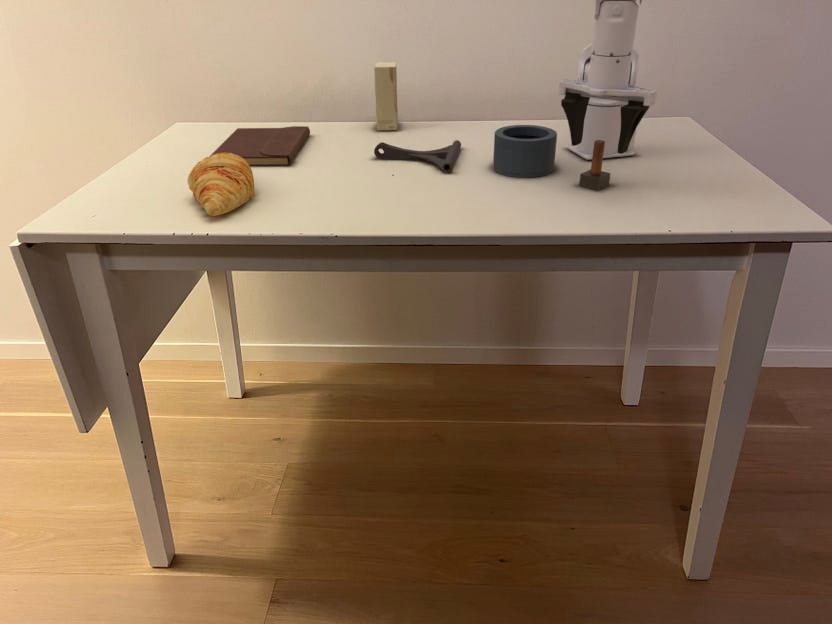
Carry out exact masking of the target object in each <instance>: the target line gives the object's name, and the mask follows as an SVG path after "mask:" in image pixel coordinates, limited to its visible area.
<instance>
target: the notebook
mask: <svg viewBox="0 0 832 624" xmlns="http://www.w3.org/2000/svg"><path fill="white" fill-rule="evenodd" d="M310 134H311V129H310V127H309V126H308V125H307V126H304V125H303V126H302V125H301V126H299V125H297V126H296V125H295V126H294V125H293V126H285V127H238V128H236V129H235V130H234V131H233V132H232V133H231V134H230V135H229V136H228V137H227V138H226V139H225V140H224V141H223V142H222V143H221V144H220V145H218V147H217V148H216V149H215V150H214V151H213V152H212V153H211V154H210V155H209V156H208V157H210V156H211V155H214V154H217V153H221V152H231V153H232V154H235V155H238V156H240V157H242V158H243V159H245V160H246V161H247V162H248V164H249V166H250V167H290V166H291V165H292V163H293V162H294V160H295V158H296V157H297V155H298V153H299V152H300V151H301V149H302V148H303V146H304V145H305V143H306V142H307V140H308V138H309V137H310Z"/></svg>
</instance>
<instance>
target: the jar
mask: <svg viewBox="0 0 832 624" xmlns="http://www.w3.org/2000/svg"><path fill="white" fill-rule="evenodd" d="M493 139H494V141H493V156H492V157H493V158H492V159H493V161H492V165H493V166H492V168H493V170H494V171H495V173H497V174H500V175H503V176H507V177H511V178H539V177H542V176H546V175H549V174H551V173H552V172H553V171H554V167H555V161H556V160H555V159H556V152H557V151H556V150H557V141H558V132H557V131H556V130H555V129H553V128H550V127H546V126H542V125H535V124H513V125H507V126H502V127H499V128H497V129H496V130H495V131H494V138H493Z"/></svg>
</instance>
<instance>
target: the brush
mask: <svg viewBox="0 0 832 624" xmlns="http://www.w3.org/2000/svg"><path fill="white" fill-rule="evenodd" d="M604 146H605V141H603V140H596V141H594V149H593V157H592V160H591V165H590V169H589V170H586V171H584V172H581V173H580V175H579V182H578V186H579V187H582V188H586V189H589V190H594V191H597V192H598V191H599V190H602V189H604V188H606V187H608V186H610V181H611V174H612V173H611V172H608V171H604V170H602V168H603V161H604V158H603V154H604Z"/></svg>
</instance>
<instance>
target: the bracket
mask: <svg viewBox="0 0 832 624" xmlns="http://www.w3.org/2000/svg"><path fill="white" fill-rule="evenodd" d="M461 142H462V141H460V140H459V139H458V140H457V139H456V140H454V141H453V142H452V144H449V145H448V146H445V147H442V148H436V149H432V150H415V149H409V148H408V149H407V148H403V147H398V146H396V145H392V144H388V143H386V142H382V141H381V142H379V143H378V144H376V146H375V147H374V150H373V154H374V156H375V157H376V158H377V159H379V160H393V161H394V160H396V161H398V160H400V161H423V162H431V163H432V164H435V165H436V166H438V168H439V169H442V171H443V172H444V173H450V172H452V170H453V168H454V165H455V162H456V160H457V158H458V155H459V152H460V150H461V147H462V143H461ZM380 150H382V151H383V152H380Z"/></svg>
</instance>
